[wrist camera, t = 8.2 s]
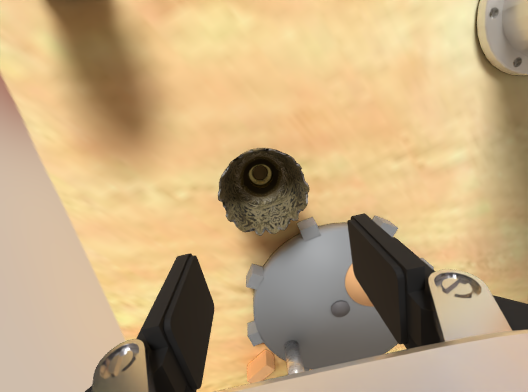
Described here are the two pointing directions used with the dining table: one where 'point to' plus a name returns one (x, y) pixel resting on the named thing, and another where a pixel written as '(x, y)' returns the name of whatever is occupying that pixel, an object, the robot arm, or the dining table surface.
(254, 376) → the peach rectangular brick
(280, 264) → the index wheel
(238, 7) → the dining table surface
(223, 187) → the cup
